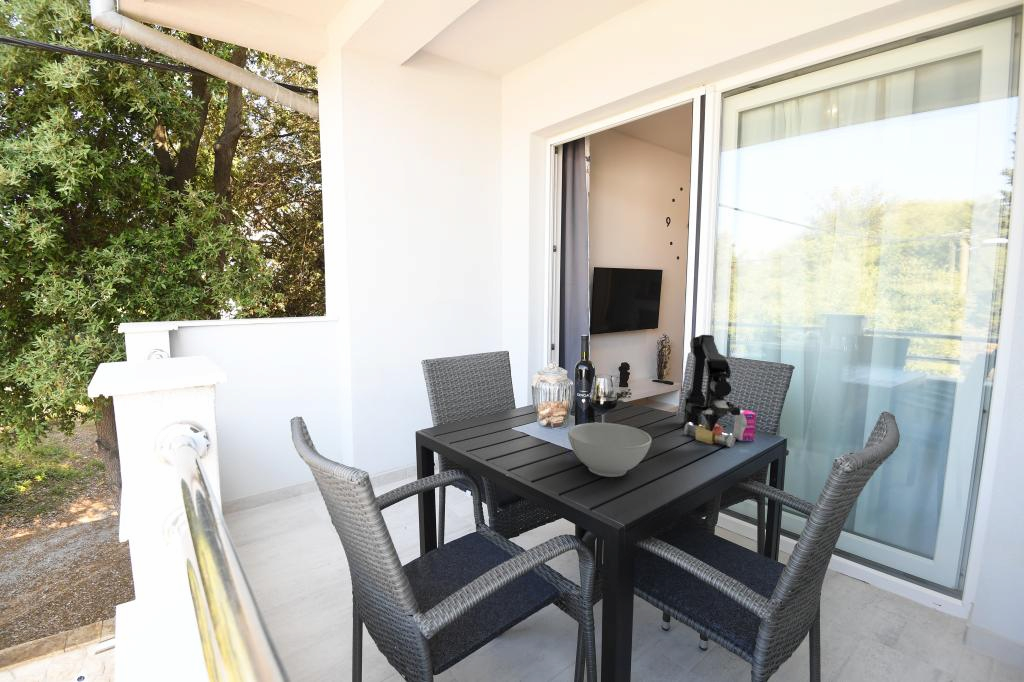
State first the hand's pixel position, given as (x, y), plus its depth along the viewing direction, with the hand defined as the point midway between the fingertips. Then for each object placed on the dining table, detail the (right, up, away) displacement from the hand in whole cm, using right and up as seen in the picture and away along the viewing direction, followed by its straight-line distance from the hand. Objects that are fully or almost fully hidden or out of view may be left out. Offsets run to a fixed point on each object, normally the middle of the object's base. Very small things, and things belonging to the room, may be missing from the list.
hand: (710, 431), depth 185 cm
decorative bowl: (-44, -8, -25) cm, 51 cm away
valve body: (+3, -5, +9) cm, 11 cm away
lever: (+3, 0, +4) cm, 5 cm away
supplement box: (+18, -6, +12) cm, 22 cm away
